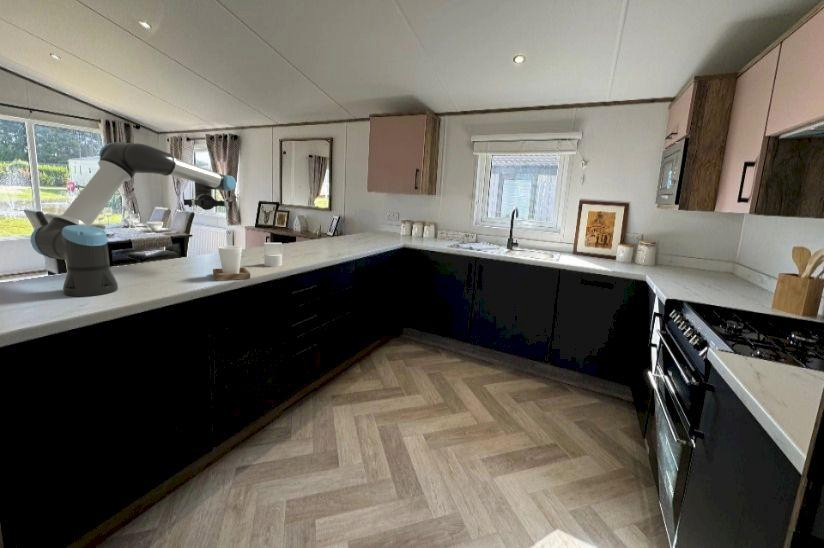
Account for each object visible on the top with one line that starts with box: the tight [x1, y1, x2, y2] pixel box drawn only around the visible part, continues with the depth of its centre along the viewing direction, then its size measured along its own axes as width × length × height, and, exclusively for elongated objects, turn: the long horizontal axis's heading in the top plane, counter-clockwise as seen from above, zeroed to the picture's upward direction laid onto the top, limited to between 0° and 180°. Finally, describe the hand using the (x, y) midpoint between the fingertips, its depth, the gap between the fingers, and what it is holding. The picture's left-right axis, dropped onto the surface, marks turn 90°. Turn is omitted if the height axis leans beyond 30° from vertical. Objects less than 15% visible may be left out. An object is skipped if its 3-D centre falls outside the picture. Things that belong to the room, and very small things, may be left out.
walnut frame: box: [212, 266, 251, 282], centre depth 170 cm, size 14×14×3 cm
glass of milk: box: [263, 242, 283, 268], centre depth 200 cm, size 9×9×12 cm
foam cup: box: [217, 245, 243, 274], centre depth 169 cm, size 10×9×13 cm
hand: (210, 204), depth 169 cm, fingers open, 13 cm apart
